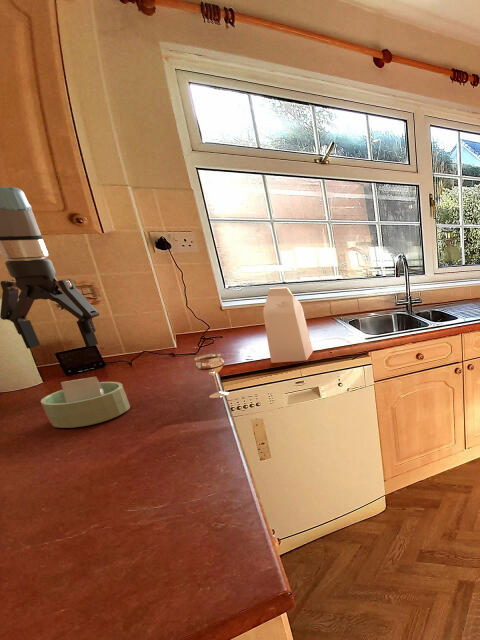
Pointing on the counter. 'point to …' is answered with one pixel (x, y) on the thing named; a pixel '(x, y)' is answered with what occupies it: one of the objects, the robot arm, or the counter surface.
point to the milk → (286, 327)
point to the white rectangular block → (82, 389)
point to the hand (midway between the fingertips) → (63, 346)
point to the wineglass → (211, 369)
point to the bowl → (86, 407)
